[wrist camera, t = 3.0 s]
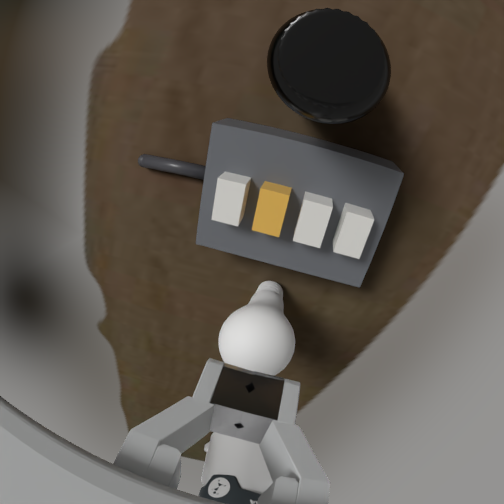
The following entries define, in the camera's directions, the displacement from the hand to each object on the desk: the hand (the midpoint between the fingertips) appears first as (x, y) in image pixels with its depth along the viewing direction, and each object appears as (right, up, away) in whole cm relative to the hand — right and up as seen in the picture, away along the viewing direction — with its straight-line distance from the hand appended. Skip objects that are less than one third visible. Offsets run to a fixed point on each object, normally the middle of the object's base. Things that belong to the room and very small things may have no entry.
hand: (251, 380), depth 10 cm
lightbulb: (+2, +1, +22) cm, 22 cm away
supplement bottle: (+6, +18, +12) cm, 22 cm away
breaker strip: (0, +10, +17) cm, 20 cm away
